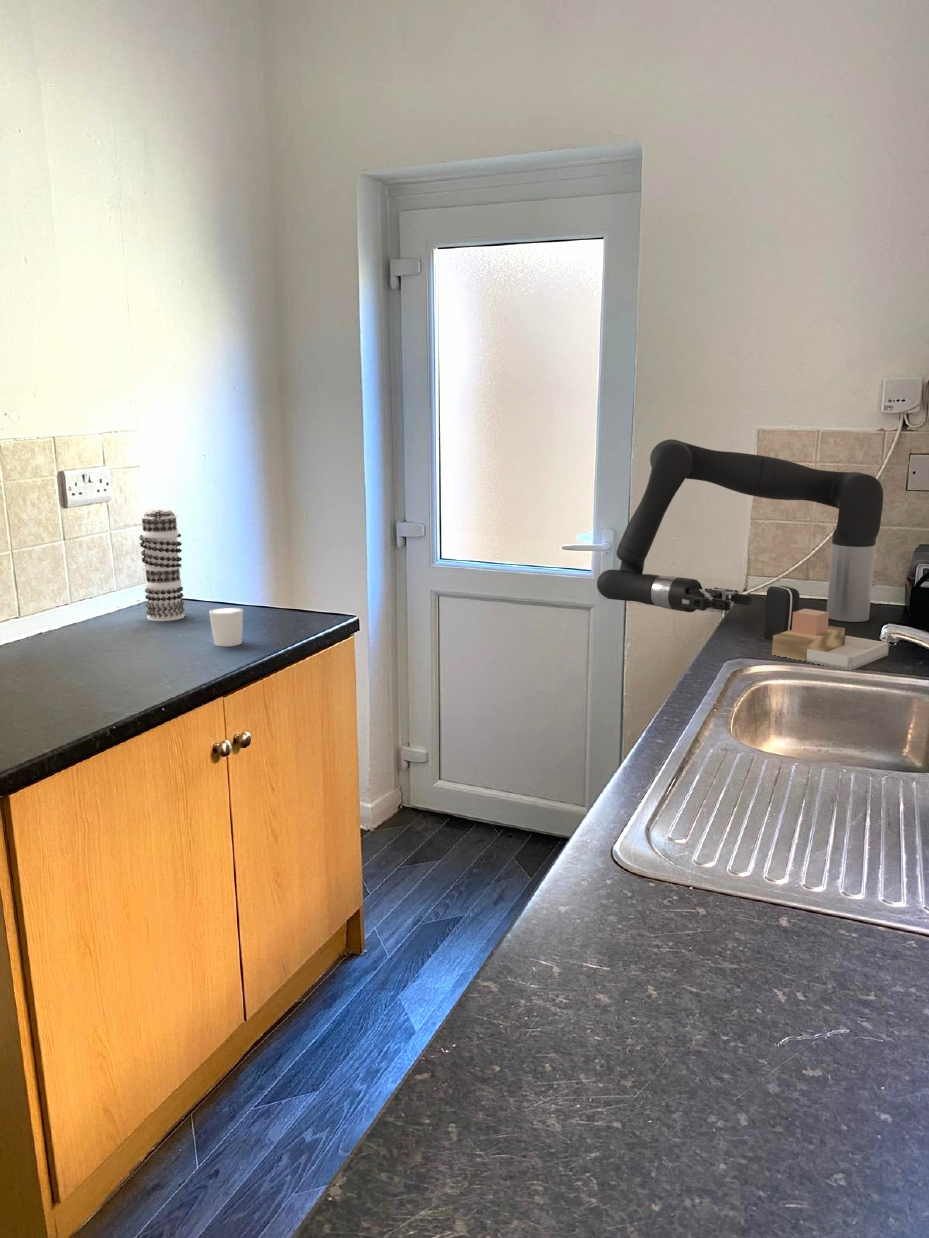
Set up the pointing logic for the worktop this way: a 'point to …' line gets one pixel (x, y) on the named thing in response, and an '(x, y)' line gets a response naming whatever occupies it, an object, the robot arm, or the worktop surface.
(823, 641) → the wooden block
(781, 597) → the black rounded block
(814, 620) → the peach rounded cube
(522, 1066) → the worktop surface
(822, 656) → the tray
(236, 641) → the shot glass
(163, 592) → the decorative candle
